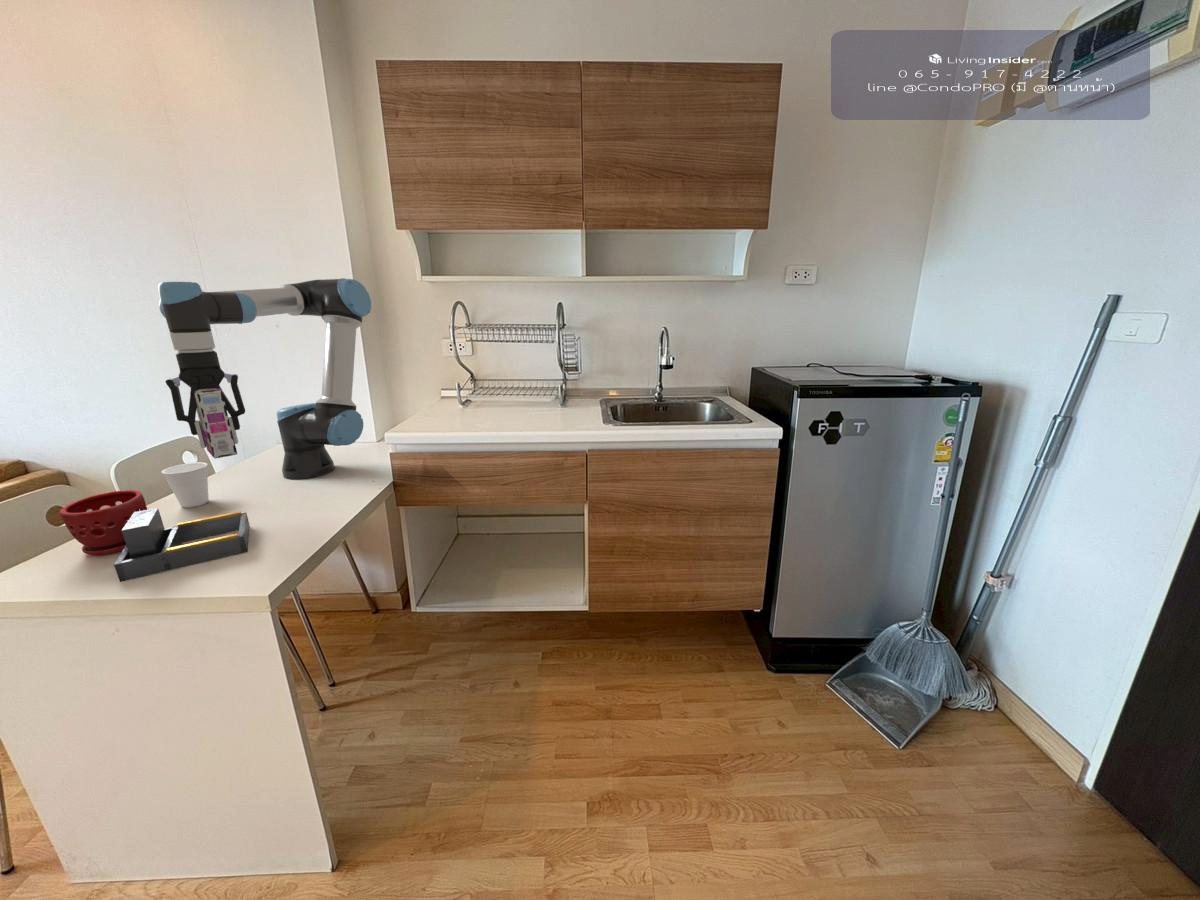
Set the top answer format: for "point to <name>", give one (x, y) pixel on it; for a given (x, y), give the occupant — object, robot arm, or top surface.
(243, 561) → the top surface
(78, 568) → the top surface
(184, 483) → the cup
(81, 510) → the plant pot
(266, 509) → the top surface
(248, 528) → the tray
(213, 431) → the candy bar box
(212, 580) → the top surface
